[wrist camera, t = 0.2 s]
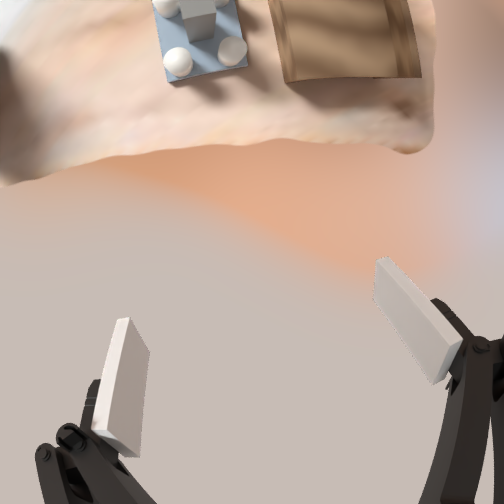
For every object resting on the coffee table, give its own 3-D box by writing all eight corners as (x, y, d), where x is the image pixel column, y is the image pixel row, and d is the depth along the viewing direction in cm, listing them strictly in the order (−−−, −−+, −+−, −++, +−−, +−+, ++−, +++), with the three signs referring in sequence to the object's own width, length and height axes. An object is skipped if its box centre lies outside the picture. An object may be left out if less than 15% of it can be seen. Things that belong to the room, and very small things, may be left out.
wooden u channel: (265, -8, 27) (283, -36, 19) (365, -5, 27) (400, -22, 19) (284, 83, 34) (308, 77, 25) (381, 78, 34) (421, 77, 26)
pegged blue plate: (154, 5, 26) (134, -31, 15) (230, -10, 26) (241, -52, 15) (169, 83, 32) (152, 72, 21) (246, 66, 32) (265, 49, 21)
